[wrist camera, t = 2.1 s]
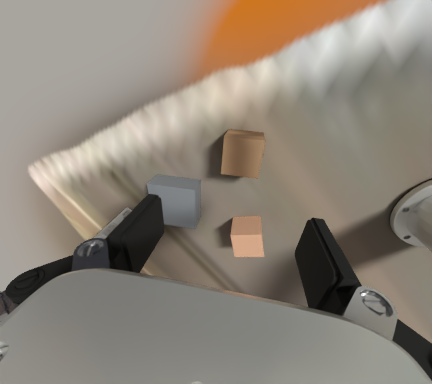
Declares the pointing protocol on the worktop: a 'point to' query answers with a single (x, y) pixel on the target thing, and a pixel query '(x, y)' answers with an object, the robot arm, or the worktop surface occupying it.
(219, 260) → the worktop surface
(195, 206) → the base block
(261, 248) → the terracotta cube
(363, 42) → the worktop surface
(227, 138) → the walnut cube
